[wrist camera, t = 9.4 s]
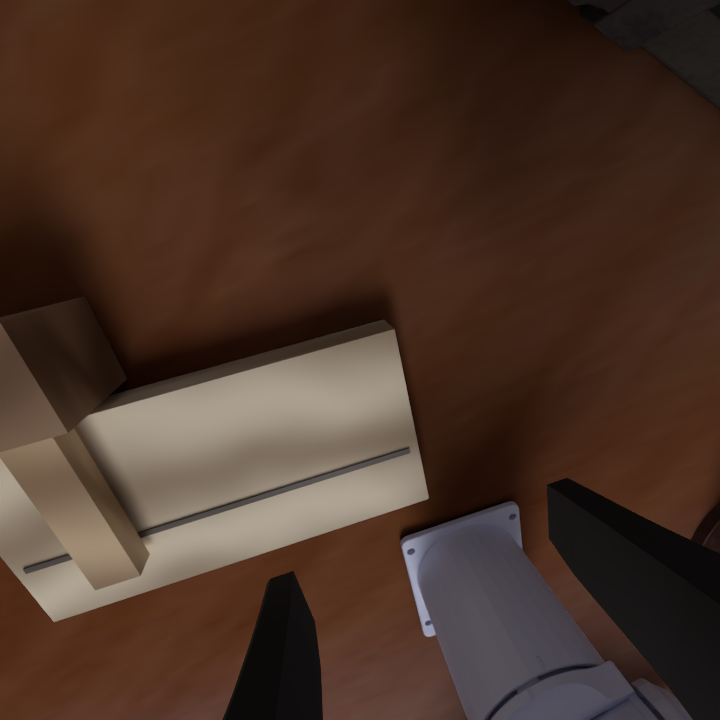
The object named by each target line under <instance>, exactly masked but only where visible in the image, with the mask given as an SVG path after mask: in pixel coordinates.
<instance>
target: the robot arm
mask: <svg viewBox="0 0 720 720" xmlns="http://www.w3.org/2000/svg"><path fill="white" fill-rule="evenodd" d="M547 495H548V522H549V539H550V540H551V542H552V543H553V545H554V546H555V548H556V549H557V551H558V552H559V554H560V555H561V557H562V558H563V559H564V561H565V562H566V564H567V565H568V566H569V568H570V569H571V571H572V572H573V574H574V575H575V576H576V577H577V579H578V580H579V581H580V582H581V583H582V585H583V586H584V587H585V588H586V589H587V591H588V592H589V593H590V594H591V595H592V596H593V598H594V599H595V600H596V601H597V602H598V604H599V605H600V606H601V607H602V608H603V609H604V611H605V612H606V613H607V614H608V615H609V616H610V618H611V619H612V620H613V621H614V622H615V623H616V625H617V626H618V627H619V628H620V629H621V630H622V632H623V633H624V634H625V635H626V636H627V638H628V639H629V640H630V641H631V642H632V643H633V645H634V646H635V647H636V648H637V649H638V650H639V652H640V653H641V654H642V655H643V656H644V657H645V659H646V660H647V661H648V662H649V663H650V664H651V666H652V667H653V668H654V669H655V671H656V672H657V673H658V674H659V676H660V677H661V678H662V679H663V681H664V682H665V683H666V684H667V686H668V687H669V688H670V690H671V691H672V692H673V694H674V695H675V696H676V697H675V696H674V695H673V694H671V693H670V692H669V691H667V690H666V689H664V688H661V687H659V686H657V685H654V684H651V683H650V682H649V681H647V680H645V679H643V678H638V679H637V680H635V681H633V682H632V683H631V686H630V684H629V683H628V682H627V680H626V679H625V678H624V676H623V675H622V674H621V672H620V671H619V670H618V668H617V667H616V666H615V664H614V663H613V662H612V661H610V660H609V661H607V662H605V661H604V660H603V659H602V657H601V656H600V655H599V653H598V652H597V651H596V649H595V648H594V647H593V645H592V644H591V642H590V641H589V640H588V638H587V637H586V636H585V634H584V633H583V632H582V630H581V629H580V628H579V626H578V625H577V623H576V622H575V621H574V619H573V618H572V617H571V615H570V614H569V613H568V611H567V610H566V609H565V607H564V606H563V604H562V603H561V602H560V600H559V599H558V598H557V596H556V595H555V594H554V592H553V591H552V589H551V588H550V587H549V585H548V584H547V583H546V581H545V580H544V579H543V577H542V576H541V575H540V573H539V572H538V570H537V569H536V568H535V566H534V565H533V564H532V562H531V561H530V560H529V558H528V557H527V556H526V554H525V553H524V551H523V549H522V538H521V527H520V515H519V507H518V505H517V504H516V503H515V502H513V501H509V502H506V503H503V504H500V505H497V506H494V507H491V508H488V509H485V510H482V511H479V512H476V513H473V514H470V515H467V516H464V517H461V518H458V519H455V520H452V521H449V522H446V523H443V524H440V525H437V526H434V527H431V528H428V529H425V530H423V531H420V532H417V533H414V534H411V535H408V536H405V537H404V538H403V539H402V540H401V547H402V551H403V555H404V559H405V563H406V567H407V571H408V575H409V579H410V583H411V587H412V591H413V595H414V598H415V602H416V606H417V610H418V614H419V618H420V622H421V626H422V630H423V633H424V635H425V636H428V637H430V636H433V635H436V636H437V639H438V641H439V644H440V647H441V649H442V652H443V655H444V658H445V660H446V663H447V666H448V668H449V671H450V674H451V677H452V679H453V682H454V685H455V687H456V690H457V693H458V696H459V698H460V701H461V704H462V707H463V709H464V712H465V715H466V717H467V720H720V553H718V552H716V551H713V550H711V549H709V548H707V547H705V546H702V545H700V544H698V543H696V542H693V541H691V540H689V539H687V538H685V537H683V536H681V535H679V534H676V533H674V532H672V531H670V530H668V529H666V528H664V527H662V526H660V525H658V524H656V523H654V522H652V521H650V520H648V519H646V518H644V517H642V516H640V515H638V514H636V513H634V512H632V511H630V510H628V509H626V508H624V507H622V506H620V505H618V504H616V503H615V502H613V501H611V500H609V499H607V498H605V497H603V496H601V495H599V494H597V493H595V492H593V491H592V490H590V489H588V488H586V487H584V486H582V485H580V484H578V483H576V482H574V481H572V480H570V479H568V478H565V479H562V480H559V481H557V482H554V483H551V484H548V485H547ZM511 514H512V515H511ZM409 549H410V550H409ZM223 720H323V712H322V686H321V666H320V658H319V650H318V642H317V635H316V627H315V621H314V618H313V616H312V614H311V611H310V609H309V607H308V604H307V602H306V600H305V597H304V595H303V593H302V590H301V588H300V586H299V583H298V581H297V578H296V576H295V574H294V571H292V572H289V573H286V574H283V575H280V576H277V577H274V578H271V579H270V580H269V582H268V583H267V587H266V590H265V594H264V598H263V601H262V605H261V609H260V612H259V616H258V619H257V622H256V626H255V629H254V632H253V635H252V638H251V642H250V645H249V648H248V651H247V654H246V657H245V659H244V662H243V665H242V668H241V671H240V674H239V677H238V680H237V683H236V686H235V689H234V691H233V694H232V697H231V699H230V702H229V705H228V707H227V710H226V713H225V715H224V718H223Z"/></svg>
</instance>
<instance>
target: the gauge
mask: <svg viewBox="0 0 720 720" xmlns="http://www.w3.org/2000/svg"><path fill="white" fill-rule="evenodd" d="M126 380H127V377H126V375H125V374H124V372H123V370H122V368H121V366H120V364H119V362H118V360H117V358H116V356H115V354H114V352H113V350H112V348H111V346H110V344H109V342H108V340H107V338H106V336H105V334H104V332H103V330H102V328H101V326H100V324H99V323H98V321H97V319H96V317H95V315H94V313H93V311H92V309H91V307H90V305H89V303H88V301H87V299H86V297H85V296H84V297H80V298H76V299H72V300H68V301H64V302H60V303H56V304H52V305H47V306H43V307H39V308H35V309H31V310H27V311H23V312H19V313H15V314H11V315H7V316H3V317H0V458H1V460H2V461H3V463H4V464H5V465H6V467H7V468H8V470H9V471H10V472H11V474H12V475H13V476H14V478H15V479H16V481H17V482H18V483H19V485H20V486H21V488H22V489H23V490H24V492H25V493H26V495H27V496H28V497H29V499H30V500H31V502H32V503H33V504H34V506H35V507H36V509H37V510H38V511H39V513H40V514H41V516H42V517H43V518H44V520H45V521H46V523H47V524H48V525H49V527H50V528H51V530H52V531H53V532H54V534H55V535H56V537H57V538H58V539H59V541H60V542H61V543H62V545H63V546H64V548H65V549H66V550H67V552H68V553H69V555H70V556H71V557H72V559H73V560H74V562H75V563H76V564H77V566H78V567H79V569H80V570H81V571H82V573H83V574H84V576H85V577H86V578H87V580H88V581H89V583H90V584H91V585H92V587H93V588H94V590H98V589H102V588H105V587H108V586H111V585H114V584H117V583H120V582H123V581H126V580H129V579H132V578H136V577H139V576H141V574H142V572H143V569H144V567H145V565H146V562H147V560H148V558H149V555H150V553H149V552H148V550H147V548H146V547H145V545H144V543H143V542H142V540H141V538H140V537H139V535H138V533H137V532H136V530H135V528H134V527H133V525H132V523H131V522H130V520H129V518H128V517H127V515H126V513H125V512H124V510H123V509H122V507H121V505H120V504H119V502H118V500H117V499H116V497H115V495H114V494H113V492H112V490H111V489H110V487H109V485H108V484H107V482H106V480H105V479H104V477H103V475H102V474H101V472H100V470H99V469H98V467H97V465H96V464H95V462H94V460H93V459H92V457H91V456H90V454H89V452H88V451H87V449H86V447H85V446H84V444H83V442H82V441H81V439H80V437H79V436H78V434H77V432H76V431H75V429H74V427H75V426H77V425H78V424H79V423H80V422H81V421H82V420H83V419H84V418H85V417H86V416H87V415H89V414H90V413H91V412H92V411H93V410H94V409H95V408H96V407H97V406H98V405H99V404H100V403H102V402H103V401H104V400H105V399H106V398H107V397H108V396H109V395H110V394H111V393H112V392H114V391H115V390H116V389H117V388H118V387H119V386H120V385H121V384H122V383H123V382H124V381H126Z"/></svg>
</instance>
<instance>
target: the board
mask: <svg viewBox="0 0 720 720" xmlns="http://www.w3.org/2000/svg"><path fill="white" fill-rule="evenodd" d="M74 429H75V431H76V432H77V434H78V436H79V437H80V439H81V441H82V442H83V444H84V446H85V447H86V449H87V451H88V452H89V454H90V456H91V457H92V459H93V460H94V462H95V464H96V465H97V467H98V469H99V470H100V472H101V474H102V475H103V477H104V479H105V480H106V482H107V484H108V485H109V487H110V489H111V490H112V492H113V494H114V495H115V497H116V499H117V500H118V502H119V504H120V505H121V507H122V509H123V510H124V512H125V513H126V515H127V517H128V518H129V520H130V522H131V523H132V525H133V527H134V528H135V530H136V532H137V533H138V535H139V537H140V538H141V540H142V542H143V543H144V545H145V547H146V548H147V550H148V552H149V553H150V555H149V558H148V560H147V562H146V565H145V567H144V569H143V572H142V574H141V576H139V577H136V578H132V579H129V580H126V581H123V582H120V583H117V584H114V585H111V586H108V587H105V588H102V589H98V590H94V588H93V587H92V585H91V584H90V583H89V581H88V580H87V578H86V577H85V576H84V574H83V573H82V571H81V570H80V569H79V567H78V566H77V564H76V563H75V562H74V560H73V559H72V557H71V556H70V555H69V553H68V552H67V550H66V549H65V548H64V546H63V545H62V543H61V542H60V541H59V539H58V538H57V537H56V535H55V534H54V532H53V531H52V530H51V528H50V527H49V525H48V524H47V523H46V521H45V520H44V518H43V517H42V516H41V514H40V513H39V511H38V510H37V509H36V507H35V506H34V504H33V503H32V502H31V500H30V499H29V497H28V496H27V495H26V493H25V492H24V490H23V489H22V488H21V486H20V485H19V483H18V482H17V481H16V479H15V478H14V476H13V475H12V474H11V472H10V471H9V470H8V468H7V467H6V465H5V464H4V463H3V461H2V460H1V458H0V556H1V558H2V559H3V560H4V561H5V563H6V564H7V565H8V566H9V567H10V569H11V570H12V571H13V572H14V574H15V575H16V576H17V577H18V578H19V580H20V581H21V582H22V583H23V585H24V586H25V587H26V588H27V590H28V591H29V592H30V593H31V594H32V596H33V597H34V598H35V599H36V601H37V602H38V603H39V604H40V605H41V607H42V608H43V609H44V610H45V612H46V613H47V614H48V615H49V616H50V618H51V619H52V620H53V621H54V622H56V621H59V620H62V619H65V618H68V617H71V616H74V615H77V614H80V613H83V612H86V611H89V610H92V609H95V608H98V607H101V606H104V605H107V604H111V603H114V602H117V601H120V600H123V599H126V598H129V597H132V596H135V595H138V594H141V593H144V592H147V591H150V590H153V589H156V588H159V587H162V586H165V585H168V584H171V583H174V582H177V581H180V580H183V579H187V578H190V577H193V576H196V575H199V574H202V573H205V572H208V571H211V570H214V569H217V568H220V567H223V566H226V565H229V564H232V563H235V562H238V561H241V560H244V559H247V558H250V557H253V556H256V555H259V554H262V553H266V552H269V551H272V550H275V549H278V548H281V547H284V546H287V545H290V544H293V543H296V542H299V541H302V540H305V539H308V538H311V537H314V536H317V535H320V534H323V533H326V532H329V531H332V530H335V529H338V528H342V527H345V526H348V525H351V524H354V523H357V522H360V521H363V520H366V519H369V518H372V517H375V516H378V515H381V514H384V513H387V512H390V511H393V510H396V509H399V508H402V507H405V506H408V505H411V504H414V503H417V502H421V501H424V500H427V499H429V496H428V491H427V486H426V481H425V476H424V472H423V467H422V462H421V457H420V452H419V447H418V442H417V437H416V432H415V427H414V422H413V417H412V413H411V408H410V403H409V398H408V393H407V388H406V383H405V378H404V373H403V368H402V363H401V358H400V354H399V349H398V344H397V339H396V334H395V329H394V328H393V327H392V326H391V325H389V324H388V323H387V322H386V321H385V320H384V319H383V320H380V321H376V322H372V323H369V324H365V325H362V326H358V327H354V328H351V329H347V330H344V331H340V332H336V333H333V334H329V335H326V336H322V337H318V338H315V339H311V340H308V341H304V342H300V343H297V344H293V345H290V346H286V347H282V348H279V349H275V350H272V351H268V352H264V353H261V354H257V355H253V356H250V357H246V358H243V359H239V360H235V361H232V362H228V363H225V364H221V365H217V366H214V367H210V368H207V369H203V370H199V371H196V372H192V373H189V374H185V375H181V376H178V377H174V378H171V379H167V380H163V381H160V382H156V383H153V384H149V385H145V386H142V387H138V388H135V389H131V390H127V391H124V392H120V393H117V394H113V395H109V396H108V397H107V398H106V399H105V400H104V401H103V402H102V403H100V404H99V405H98V406H97V407H96V408H95V409H94V410H93V411H92V412H91V413H90V414H89V415H87V416H86V417H85V418H84V419H83V420H82V421H81V422H80V423H79V424H78V425H77V426H75V427H74Z"/></svg>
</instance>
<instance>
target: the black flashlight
mask: <svg viewBox="0 0 720 720" xmlns="http://www.w3.org/2000/svg"><path fill="white" fill-rule="evenodd" d="M568 1H569V2H570V3H571V4H573V5H574V6H579V5H584V4H585V5H584V7H583V9H582V11H581V17H583V18H584V19H585V20H586V21H588V22H589V23H590V24H591V25H593V26H594V27H595V28H597V29H598V30H599V31H600V32H602V33H603V34H604V35H606V36H607V37H608V38H609V39H611V40H612V41H613V42H615V43H616V44H617V45H619V46H620V47H621V48H623V49H624V50H625V51H626V52H627V51H630V50H632V49H635V48H637V47H639V46H641V47H643V48H644V49H645V50H646V51H648V52H649V53H650V54H651V55H653V56H654V57H655V58H656V59H658V60H659V61H660V62H661V63H663V64H664V65H665V66H666V67H668V68H669V69H670V70H671V71H673V72H674V73H675V74H676V75H678V76H679V77H680V78H681V79H683V80H684V81H685V82H686V83H688V84H689V85H690V86H691V87H693V88H694V89H695V90H696V91H698V92H699V93H700V94H701V95H703V96H704V97H705V98H706V99H708V100H709V101H710V102H711V103H713V104H714V105H715V106H716V107H718V108H719V109H720V0H568Z"/></svg>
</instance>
